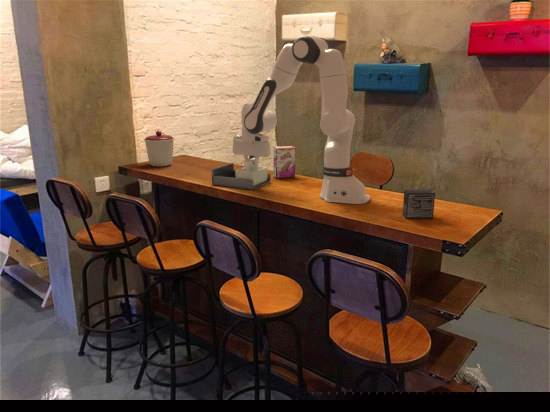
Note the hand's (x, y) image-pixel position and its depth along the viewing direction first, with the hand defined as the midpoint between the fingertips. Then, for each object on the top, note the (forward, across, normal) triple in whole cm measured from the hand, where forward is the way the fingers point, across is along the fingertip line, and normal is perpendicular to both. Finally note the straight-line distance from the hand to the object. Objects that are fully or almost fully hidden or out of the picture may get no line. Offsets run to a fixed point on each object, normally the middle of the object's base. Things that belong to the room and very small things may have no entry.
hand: (251, 164), depth 225 cm
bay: (+10, -6, 0) cm, 12 cm away
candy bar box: (+11, +6, +24) cm, 27 cm away
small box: (+11, +85, -14) cm, 87 cm away
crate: (+9, 0, 0) cm, 9 cm away
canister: (+10, -76, +17) cm, 79 cm away
